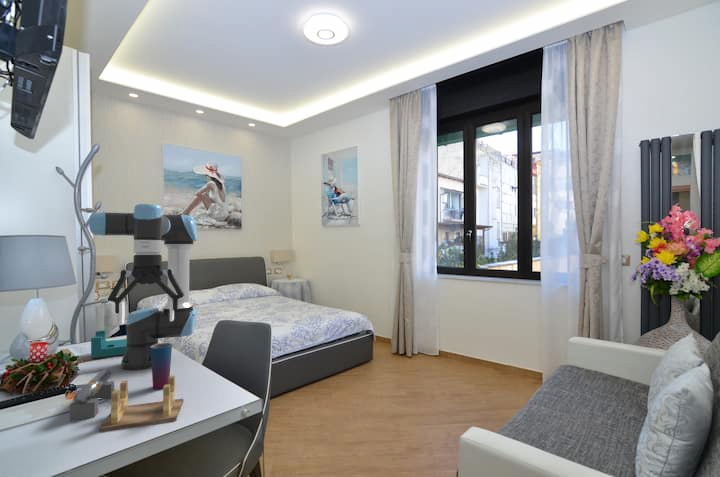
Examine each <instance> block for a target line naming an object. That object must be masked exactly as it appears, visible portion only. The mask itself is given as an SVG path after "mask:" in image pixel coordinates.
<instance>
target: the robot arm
mask: <svg viewBox="0 0 720 477" xmlns="http://www.w3.org/2000/svg"><path fill="white" fill-rule="evenodd" d="M88 228H89V231H90V233H91V234H92V235H95V236H103V237H104V236H125V237H126V236H129V237H130V236H131V237H133V253H135V255H133V262H132V263H133V266H132V267H133V269H132V270H129V269H123V270H121V271H120V277H119V279H118V280H117V282H116V283H115V286H114V287H113V289H112V291H110V292H111V293H109V296H108V297H107V301H108V302H113V303H114V304H115V305H114V306H115V308H114V309H115V310H114V312H115V314H118V325H119V326H121V325H124V324H125V321H126V324H125V325H126V339H127V346H126V351H125V353H124V354H123V356H122V359H121V364H120V365H121V366H120V367H121V369H123V370H130V371H131V370H132V371H136V370H142V369H148V368H152V364H151V348H150V347H151V346H152V345H155V344H159V339H165V338H167V339H168V338H169V339H170V338H182V337H189V336H191V335H192V334H193V333H194V331H195V326H196V322H197V309H195V308H194V305H193V304H192V303H191V302H190V250H191V248H192V247H193V246H194V242H196V241H197V240H198V230H197V224H196V221H195V218H194V216H192V215H188V214H164V213H163V207H162V206H161V205H159V204H153V203H152V204H150V203H138V204H135V205H134V209H133V212H105V211H103V212H101V211H100V212H99V211H98V212H97V211H96V212H93V213H92V214H91V215H90V217H89V219H88ZM162 243H163V244H162ZM163 245H164V246H165V247H166V248H167V269H163V266H162V263H163V262H162V260H163V258H162V255H161V254H160V253H163V250H162V249H163V247H162V246H163ZM130 275H131V276H132V277H133V278H134V279H133V281H131V282H130V284H128V286H127V287H126V288H125V289H124V290H122V292H121V293H120V294H119V292H120V290H121V289H122V287H123V286H124V283H125V282H126V280H127V278H129V277H130ZM163 275H165V276H166V277H167V283H165V282H164V280H163V279H162V278H161V277H162V276H163ZM155 283H156V285H157V286H159V287H160V288H161V289H162V290H163V291H164V292H165V293H166V294H167V303H166V304H165V305H164V306H163V310H160V309H159V307H149V308H144V309H139V310H135V311H132V312H129V313H128V315H127V317H126V316H125V314H126V313H125V312H126V311H125V308H126V304H125V303H126V301H123V300H124V299H125V298H126V297H127V296H128V295H130V293H131V292H132V290H134V289H135V287H137V285H139V284H140V285H146V284H148V285H153V284H155ZM125 317H126V318H125Z"/></svg>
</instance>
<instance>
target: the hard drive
mask: <svg viewBox="0 0 720 477" xmlns="http://www.w3.org/2000/svg"><path fill="white" fill-rule="evenodd" d="M99 372H100V371H98V372H91V373H84V374H78V376H76V377H75V378H74V379H73V380H72V381H70V383H69V384H74V385H76V386H77V388H76V389H82V388H83V387H84V386H85V385H86V384H87V383H88V382H89V381H90V380H92V379H93V378H94V377H95V376H96V375H97V374H98V373H99Z"/></svg>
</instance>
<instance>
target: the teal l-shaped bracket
mask: <svg viewBox="0 0 720 477" xmlns="http://www.w3.org/2000/svg"><path fill="white" fill-rule="evenodd" d="M106 333H107V332H106V329H103V330H96V331H95V336H94V337H93V336H91V338H90V357H91V359H95V358H104V357H111V356H112V357H114V356H120V355H121V356H122V355H124V353H125V351H126V346H127V338H121V339H113V340H106V339H107V334H106Z"/></svg>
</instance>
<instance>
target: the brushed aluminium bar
mask: <svg viewBox="0 0 720 477" xmlns="http://www.w3.org/2000/svg"><path fill="white" fill-rule="evenodd" d="M98 372H99V373H98V374H97V375H96V376H95V377H94V378H93V379H92V380H90V381H89V382H88V383H87V384H86V385H85V386H84V387H82V388H79V390H78V391H77V392H76V393H75V394H74V395H73V402H75V403H76V404H80V405H81V404H85V403H87V402H88V401H89V400H90V399H91V398H92V397H93V396H94V395H95V394H96V393H97V392H98V391H99V390H100V388H101V387H102V386H103V385H104V384H105V383H106V382H109V381H110V380H111V378H112V375H113V374H112V372H111V371H110V370H109V369H102V370H101V371H98Z"/></svg>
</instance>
